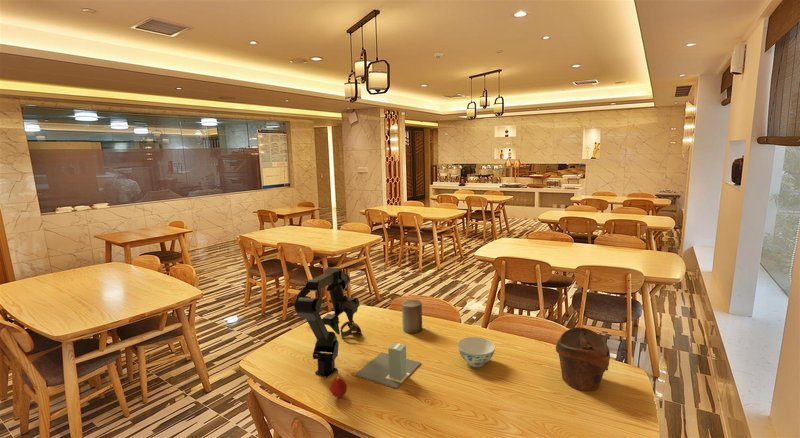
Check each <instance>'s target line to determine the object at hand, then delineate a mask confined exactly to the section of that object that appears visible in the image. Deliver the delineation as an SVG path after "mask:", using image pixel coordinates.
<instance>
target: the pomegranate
mask: <svg viewBox="0 0 800 438" xmlns="http://www.w3.org/2000/svg"><path fill="white" fill-rule="evenodd" d="M329 386H330V387H329V390H330V391H329V392H330V393H331V394H332V396H333V397H335V398H336V399H337V398H338V399H340V398H341V397H344V395H345V394H346V393H347V389H348V387H347V386H348V385H347V383H346V381H345V379H343V378H341V377H339V376H336V377H335V379H333V381H332V382H331V383H330V385H329Z"/></svg>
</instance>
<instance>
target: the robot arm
mask: <svg viewBox="0 0 800 438" xmlns="http://www.w3.org/2000/svg"><path fill="white" fill-rule="evenodd" d="M350 283H351V278H350V275H348V274H347V273H346V271H344V270H343V268H341V267H326V269H324V270H323V273H322V274H320V275H318V276H316V277H314V278H313V279H307V281H306V283H305V285H304V287H303V288H302V289H301V290H300V291H299V292H298V293H297V296H296V299H295V301H294V305H293V306H294V307H293V308H294V311H295V312H296V314H297V315H298V317H300V318H302V319H304V320H306V322H307V324H308V325H309V328H310V329H311V331H312V332H313V334H314V337H315V338H316V341H315V344H314V348H313V349H314V350H313V352H312V358H313V360H317V370H316V371H315V372H314V374H315V375H319V376H322V377H325V378H329V377H330V376H332V375H333V374H334V373H336V372H337V371H338V367H336V365H335V364H336V363H335V361H336V358H338V356H339V340H338V339H337V338H338V337H337V336H336V335H341V332H340V327H339V323H340V322H341V321H339V320H340V319H339V318H340V316H341V315H342V314H343V313H345V316H346V317H347V321H349V322H350V323H352V322H353V321H354V320H353V319H354V315H355V313H357V312H358V308H359V307H360V299H359V298H357V297H347V295H345V293H344V290H345V289H346V288H348V285H350ZM324 288H326V292H328V294H329V296H330V299H328V301H329V303H330V304H331V305H332V307H331V309H330V310H331V312H334V313H327V314H326V315H324V317H322V316H321V314H320V310H321V307H322V303H323V300H324V299H323V295H322V290H323V289H324ZM310 292H317V295H318V296H317V297H314V298H313V297H306V296H307V295H309V293H310ZM326 326H329V327H330V329H332V330H333V331H329V330H328V329H327V327H326Z"/></svg>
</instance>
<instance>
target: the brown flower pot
mask: <svg viewBox="0 0 800 438" xmlns="http://www.w3.org/2000/svg"><path fill="white" fill-rule="evenodd" d="M555 352H556V353H557V354H558V357H559V362H560V363H559V365H560V370H561V378H562V380H563V381H564V382H565V384H567V385H568V386H569V387H571V388H572V389H575V390H578V391H582V392H591V391H592V392H593V391H596V390H597V389H598V388H599V387H600V386H601V382H602V380H603V377H604V373H605V372H606V371H607V372H608V371H609V366H610V358H611V354H610V349H609V347H608V344H607V342H606V340H605V339H604V338H603V337H602V336H601V335H599V333H597V332H595V331H593V330H592V329H589V328H585V327H572V328H570V329H568V330H566V331H564V332H563V333H562V334H561V335H560V337H559V338H558V340H557V342H556V345H555Z"/></svg>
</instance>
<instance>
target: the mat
mask: <svg viewBox="0 0 800 438" xmlns="http://www.w3.org/2000/svg"><path fill="white" fill-rule="evenodd" d="M421 365H422V362H420V361H418V360H413V359H409V358H406V375H405V376H404V377H403V379H402V380H397V379H393V378H389V354H388V353H387V352H383V351H381V353H379V354H378V355H377V356H375V357H374V358H372V359H371V360H370V361H369V362H368V363H367V364H365V365H364V366H363V367H362V368H360V369H359V370H358V371H357V372H356V373H354V377H357V378H360V379H364V380H367V381H370V382H373V383H377V384H379V385H382V386H386V387H390V388H393V389H396V390H397V389H398V388H399V387H400V386H402V384H403V383H404V382H405V381H406V380H407V379H408V378H409V377H410V376H411V375H412V373H414V372H415V371H416V370H417V369H418V368H419V367H420V366H421Z"/></svg>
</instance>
